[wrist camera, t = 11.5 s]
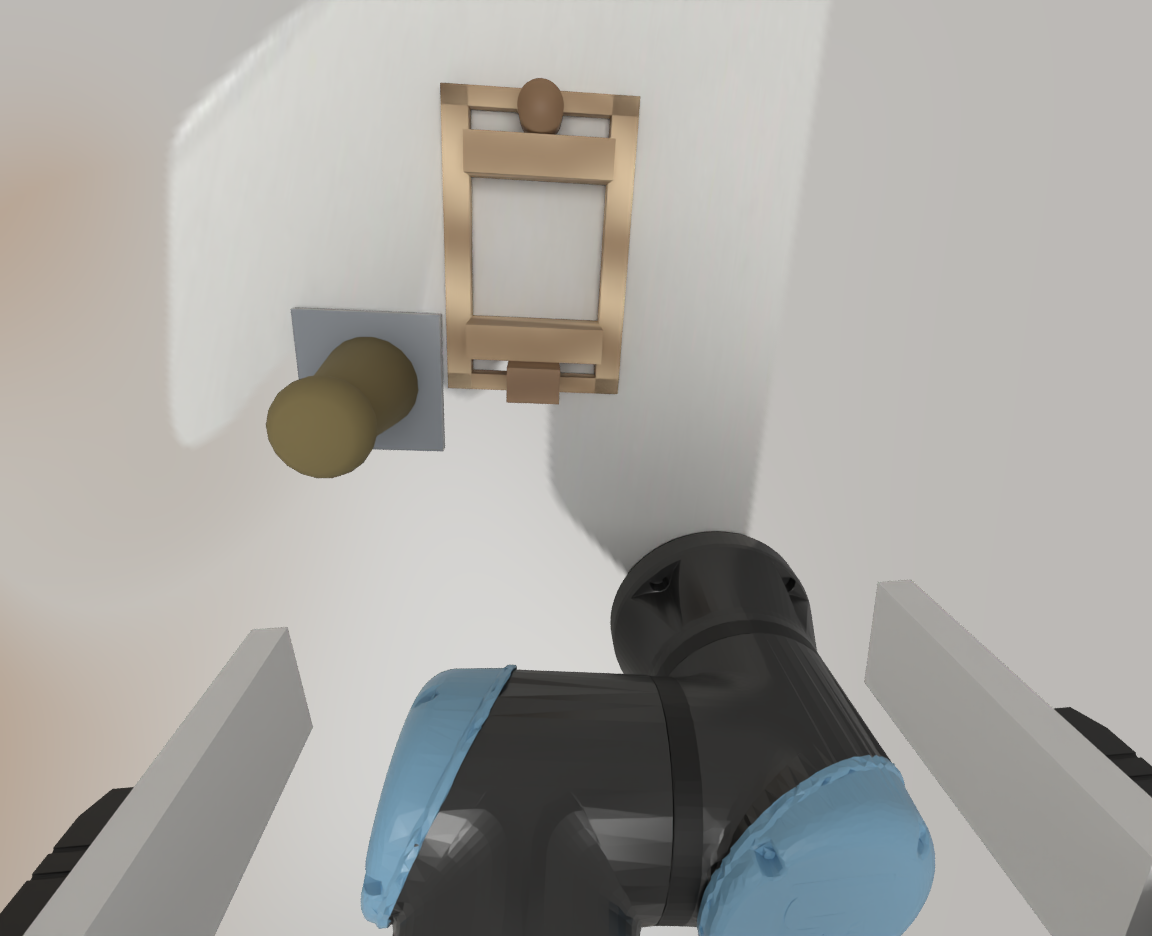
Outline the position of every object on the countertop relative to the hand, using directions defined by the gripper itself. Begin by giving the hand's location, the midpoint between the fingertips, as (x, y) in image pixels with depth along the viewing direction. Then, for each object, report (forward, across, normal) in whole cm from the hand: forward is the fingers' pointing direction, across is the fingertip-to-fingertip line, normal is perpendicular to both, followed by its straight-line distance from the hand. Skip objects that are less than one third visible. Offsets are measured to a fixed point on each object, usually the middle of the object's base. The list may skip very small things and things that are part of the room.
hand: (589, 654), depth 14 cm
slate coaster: (+29, +12, -1) cm, 31 cm away
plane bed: (+29, +1, -8) cm, 30 cm away
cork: (+28, +12, -1) cm, 31 cm away
